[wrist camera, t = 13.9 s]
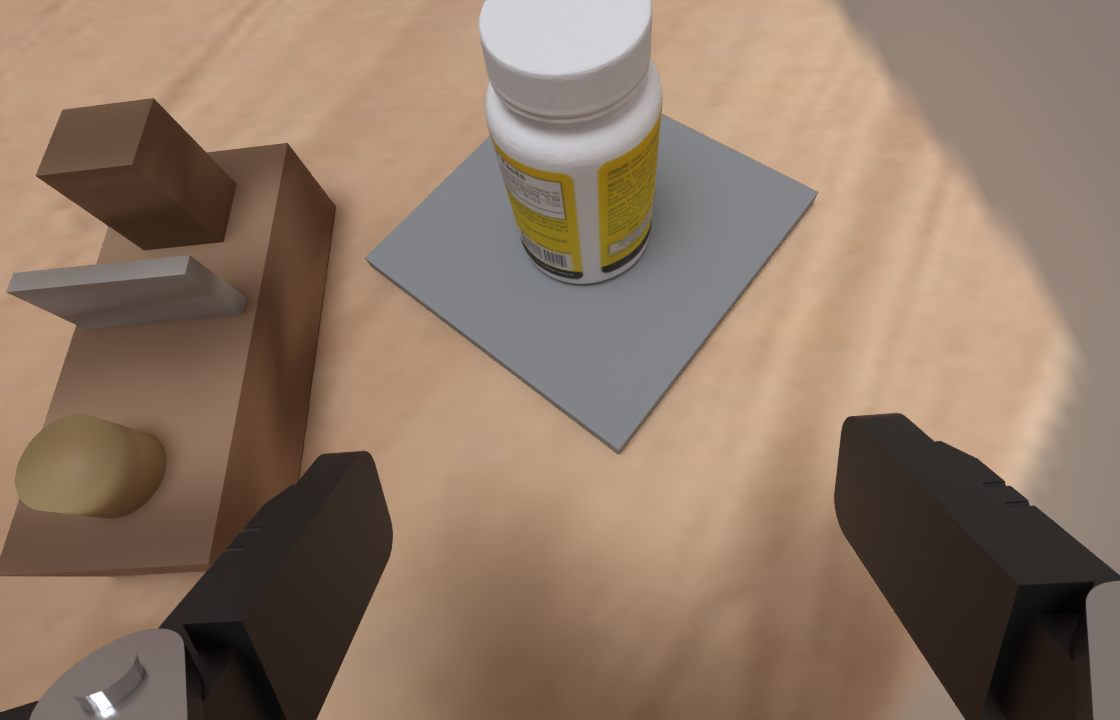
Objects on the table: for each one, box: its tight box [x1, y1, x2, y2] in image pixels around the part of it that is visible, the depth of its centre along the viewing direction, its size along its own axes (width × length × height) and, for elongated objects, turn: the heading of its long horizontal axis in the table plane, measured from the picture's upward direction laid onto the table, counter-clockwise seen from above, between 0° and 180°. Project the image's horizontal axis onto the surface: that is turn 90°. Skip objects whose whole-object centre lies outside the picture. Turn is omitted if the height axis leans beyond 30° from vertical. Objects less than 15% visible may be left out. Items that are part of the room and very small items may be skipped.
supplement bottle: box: [479, 0, 662, 284], centre depth 16 cm, size 5×5×8 cm
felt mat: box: [365, 114, 818, 454], centre depth 20 cm, size 12×12×1 cm
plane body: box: [0, 98, 335, 576], centre depth 17 cm, size 14×6×7 cm, turn 3°
